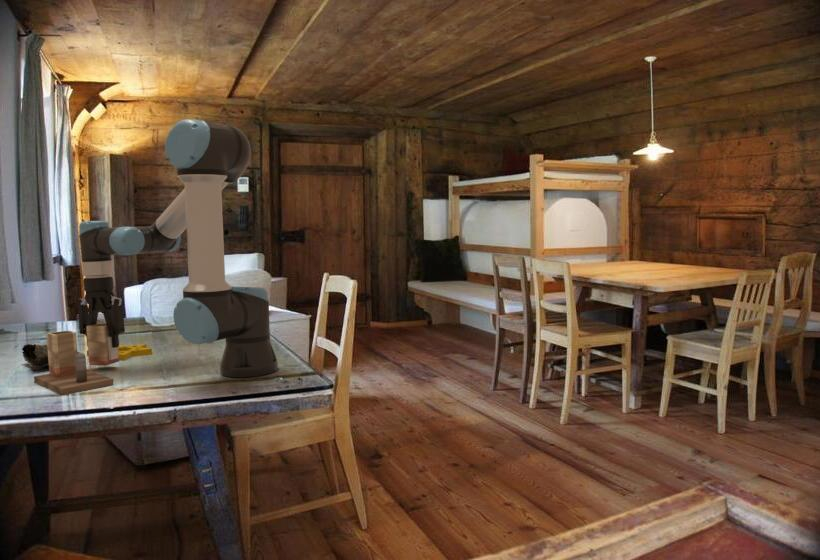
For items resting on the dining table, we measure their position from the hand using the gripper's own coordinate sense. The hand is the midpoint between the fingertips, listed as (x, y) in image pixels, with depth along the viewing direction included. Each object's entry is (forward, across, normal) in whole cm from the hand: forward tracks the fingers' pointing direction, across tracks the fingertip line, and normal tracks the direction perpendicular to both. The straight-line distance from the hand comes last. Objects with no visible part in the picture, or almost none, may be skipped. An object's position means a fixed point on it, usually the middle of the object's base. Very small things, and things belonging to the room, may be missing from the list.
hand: (104, 358), depth 179 cm
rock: (+3, +19, -3) cm, 19 cm away
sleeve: (+1, 0, 0) cm, 1 cm away
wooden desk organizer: (+3, -3, +16) cm, 16 cm away
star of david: (+3, +9, -18) cm, 20 cm away
